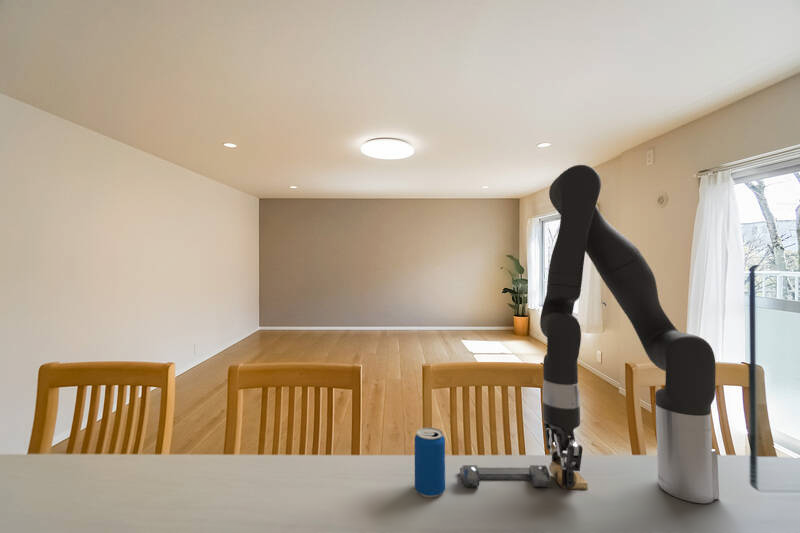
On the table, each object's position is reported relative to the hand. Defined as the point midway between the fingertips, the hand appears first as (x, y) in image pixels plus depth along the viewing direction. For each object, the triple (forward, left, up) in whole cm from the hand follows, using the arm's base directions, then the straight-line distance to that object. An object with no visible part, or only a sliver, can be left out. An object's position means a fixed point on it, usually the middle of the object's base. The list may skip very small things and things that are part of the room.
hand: (562, 479), depth 78 cm
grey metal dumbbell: (+13, 0, -1) cm, 13 cm away
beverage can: (+29, +3, -1) cm, 30 cm away
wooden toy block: (-1, 0, -1) cm, 1 cm away
